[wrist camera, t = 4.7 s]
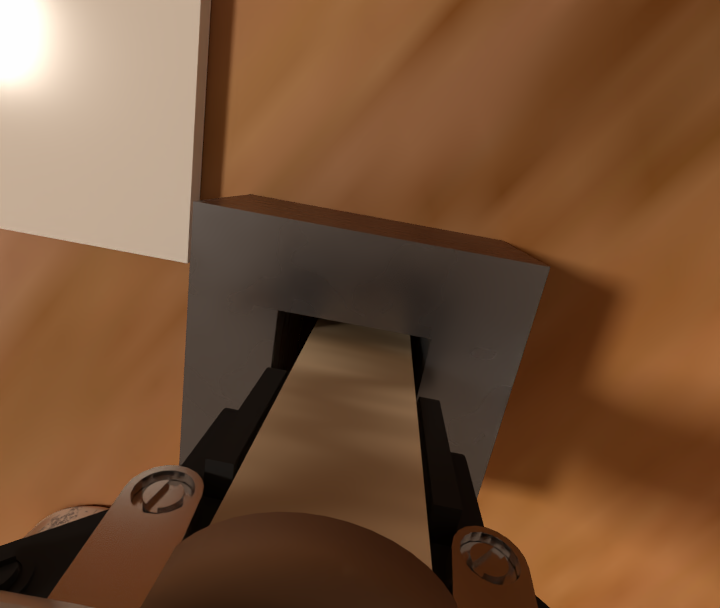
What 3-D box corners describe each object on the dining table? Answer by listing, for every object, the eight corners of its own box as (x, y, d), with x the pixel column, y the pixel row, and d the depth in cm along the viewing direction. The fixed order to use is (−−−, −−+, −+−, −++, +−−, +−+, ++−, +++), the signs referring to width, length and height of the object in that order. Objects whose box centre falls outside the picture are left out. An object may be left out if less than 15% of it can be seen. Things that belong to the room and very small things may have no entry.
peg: (433, 302, 16) (540, 654, 4) (407, 411, 17) (434, 895, 6) (309, 279, 16) (80, 561, 4) (294, 389, 17) (93, 820, 6)
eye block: (502, 240, 16) (550, 266, 11) (443, 455, 19) (461, 547, 14) (250, 194, 16) (193, 201, 12) (230, 414, 19) (177, 492, 15)
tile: (212, -25, 14) (202, -36, 14) (196, 259, 17) (187, 263, 16) (-71, -75, 14) (-97, -89, 14) (-39, 215, 17) (-59, 217, 17)
